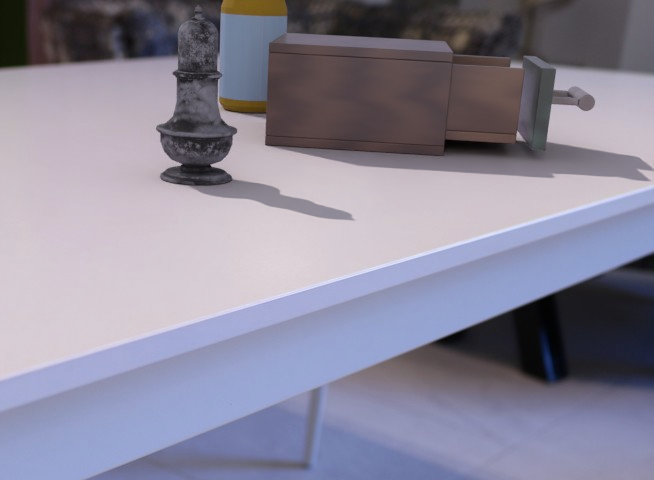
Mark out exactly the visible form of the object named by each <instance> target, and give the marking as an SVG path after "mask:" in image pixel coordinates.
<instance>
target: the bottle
mask: <svg viewBox="0 0 654 480" xmlns="http://www.w3.org/2000/svg"><path fill="white" fill-rule="evenodd" d="M219 26H220V29H219V30H220V32H219V36H220V37H219V66H218V67H219V68H218V69H219V70H218V71H219V72H220V73H222V74H223V76H222V77H220V79H218V103H219V104H220V105H221V107H222V108H223V109H224V110H226V111H231V112H239V113H255V114H257V113H260V114H261V113H265V114H266V108H267V83H268V58H269V43H270V42H272V41H273V40H275V39H276V38H278V37H280V36H281V35H283V34H285V33H288V32H287V31H288V6H287V3H286V0H222V3H221V6H220V25H219Z"/></svg>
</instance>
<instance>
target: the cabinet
mask: <svg viewBox="0 0 654 480" xmlns="http://www.w3.org/2000/svg"><path fill="white" fill-rule="evenodd" d="M454 55H455V54H454V51H453V50H452V48H451V47H450V45H449V44H448V43H447V41H445V40H430V39H429V40H427V39H412V38H411V39H410V38H391V37H373V36H372V37H371V36H354V35H353V36H352V35H335V34H333V35H332V34H319V33H318V34H315V33H297V32H287V33H285V34H283V35H281V36H280V37H278V38H276V39H275V40H273V41H272V42H270V43H269V58H268V83H267V108H266V113H265V136H264V145H266V146H279V147H296V148H298V147H299V148H310V149H311V148H313V149H327V150H328V149H329V150H342V151H343V150H344V151H362V152H377V153H393V154H394V153H395V154H406V155H407V154H408V155H424V156H440V157H441V156H444V153H445V145H446V140H445V135H446V125H447V115H448V105H449V95H450V85H451V76H452V66H453V63H452V62H453V56H454Z"/></svg>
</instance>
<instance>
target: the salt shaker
mask: <svg viewBox="0 0 654 480" xmlns="http://www.w3.org/2000/svg"><path fill="white" fill-rule="evenodd" d="M193 12H194V16H192V17H191V18H190V19H188V20H185V21H184V22H182V23H181V24H180V26H179V27H178V31H177V32H178V33H177V69H175V70H174V71H172V73H171V74H172V75H173V76H175V78H176V102H175V106H174V111H173V114H172V116H171V117H170V118H169V119H168V120H167V121H166V122H164V123H159V124H157V125H156V127H155V130H156V132H158V133H159V137H160V139H159V140H160V145H161V147H162V149H163V152H164V153H165V155H167V156H168V158H169V159H170V160H172V161H173V162H176V163H178V164H180V165H175V166H170V167H168V168H166V169H165V170H164V171H162V172H160V174H159V178H160V179H161V180H163V181H165V182H169V183H174V184H179V185H189V186H190V185H191V186H195V185H196V186H212V185H220V184H226V183H229V182H232V180H233V176H232V175H231V174H230V173H228V172H227V171H226V170H225V169H223V168H221V167H215V166H213V165H214V164H217V163H219V162H222V161H223V160H224V159H225V158H226V157H227V156H228V155H229V153H230V151H231V148H232V146H233V140H234V139H233V137H234V135H236V134H237V133H238V128H236V127H235V126H232V125H229V124H227V123H226V122H225V120H224V119H223V118H222V115H221V112H220V107H219V79H220V77H222V76H223V74H222V73H220V72H219V70H218V55H219V49H218V48H219V32H218V28H217V26H216V25H215V24H214V23H213V22H212V21H210V20H207V18H205V17H203V14H202V13H203V12H204V10H203V8H202V7H201V5H200V4H197V5H196V6H195V9H194V10H193Z"/></svg>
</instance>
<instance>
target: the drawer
mask: <svg viewBox="0 0 654 480" xmlns="http://www.w3.org/2000/svg"><path fill="white" fill-rule="evenodd" d="M511 62H512V58H511V57H505V56H504V57H503V56H489V55H488V56H485V55H469V54H468V55H466V54H454V56H453V62H452V63H453V66H452V76H451V85H450V95H449V105H448V115H447V125H446V135H445V141H446V140H448V141H460V142H461V141H462V142H463V141H464V142H479V143H494V144H495V143H498V144H510V145H511V144H513V145H514V144H516V143H517V134H519V135H520V137H521V138H522V139H523V141H524V142H525V144H527V145H528V147H529V148H530V149H531V150H533V151H546V149H547V148H546V147H547V142H548V141H547V140H548V134H549V126H550V120H551V119H550V118H551V111H552V105H559V106H560V105H561V106H576V107H577V108H578V109H580V110H581V111H583V112H589V111H591V110H592V109H593V108H594V107H595V105H596V99H595V97H594V96H593V95H591V94H590V93H588V92H586V91H585V90H584V89H582V88H580V87H579V86H571V87H569V88H568V89H567V90H565V89H563V90H562V89H554V88H555V82H556V74H557V68H555V67H554V66H552V65H551V64H549V63H547V62H546V61H544V60H543V59H541V58H539V57H538V56H536V55H535V56H534V55H523V58H522V66H521V67H511Z"/></svg>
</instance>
